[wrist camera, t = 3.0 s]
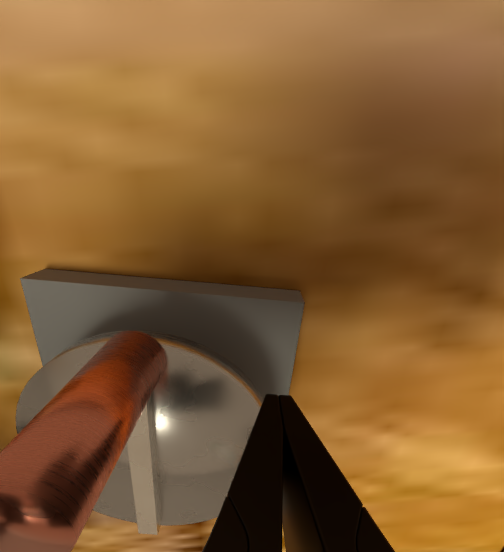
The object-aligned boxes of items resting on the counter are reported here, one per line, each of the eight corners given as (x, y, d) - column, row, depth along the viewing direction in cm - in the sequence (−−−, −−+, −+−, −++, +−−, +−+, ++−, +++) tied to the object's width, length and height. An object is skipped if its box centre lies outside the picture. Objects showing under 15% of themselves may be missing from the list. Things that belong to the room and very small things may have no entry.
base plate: (271, 462, 18) (272, 485, 17) (83, 447, 18) (69, 468, 17) (299, 290, 14) (304, 302, 12) (44, 268, 13) (20, 278, 12)
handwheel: (259, 477, 16) (261, 729, 9) (79, 463, 16) (-76, 705, 9) (284, 308, 12) (329, 516, 4) (38, 287, 12) (-345, 464, 4)
